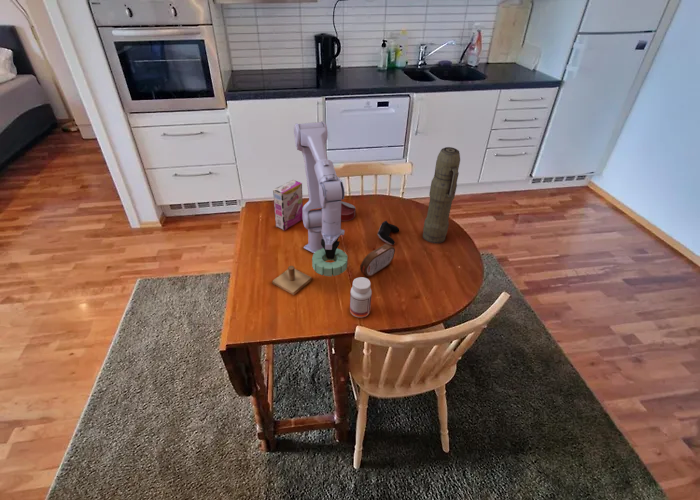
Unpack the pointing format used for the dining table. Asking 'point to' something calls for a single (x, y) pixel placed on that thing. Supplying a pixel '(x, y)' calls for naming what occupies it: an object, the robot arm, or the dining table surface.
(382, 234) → the gaming controller
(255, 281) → the dining table surface
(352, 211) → the canned food
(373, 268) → the tin
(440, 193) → the thermos
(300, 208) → the candy bar box
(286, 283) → the peg stand
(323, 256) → the ring
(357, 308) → the pill bottle
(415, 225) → the dining table surface
